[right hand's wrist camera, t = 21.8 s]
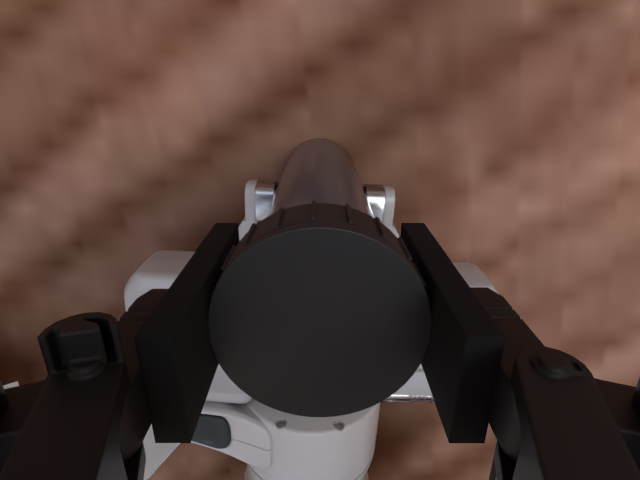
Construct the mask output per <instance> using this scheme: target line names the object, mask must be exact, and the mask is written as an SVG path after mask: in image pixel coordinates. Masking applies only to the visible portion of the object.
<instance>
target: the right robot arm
mask: <svg viewBox="0 0 640 480" xmlns="http://www.w3.org/2000/svg"><path fill="white" fill-rule="evenodd" d="M401 238H402V240H403V242H404V244H405V246H406V248H407V250H408V252H409V254H410V256H411V258H412V260H411V261H412V263H413V262H415V264H416V266H417V268H418V270H419V272H420V274H421V276H422V278H423V279H424V281H425V283H426V285H427V288H426V292H427V295H428V298H429V301H430V306H431V313H432V325H431V333H430V341H429V345H428V348H427V351H426V354H425V356H424V358H423V360H422V362H421V365H422V368H423V370H424V373H425V376H426V379H427V382H428V385H429V387H430V390H431V393H432V396H433V399H434V401H435V404H436V407H437V410H438V413H439V416H440V418H441V421H442V424H443V427H444V430H445V432H446V435H447V438H448V441H449V443H484V442H485V437H486V432H487V427H488V422H489V424H490V426H491V428H492V430H493V432H494V434H495V436H496V438H497V444H496V449H495V453H494V458H493V462H492V467H491V471H490V476H489V480H495V479H496V478H497V480H640V378H639V381H638V384H637V386H636V387H633V386H628V385H623V384H618V383H613V382H608V381H603V380H599V379H595V378H594V377H593V375H592V373H591V372H590V371H589V370H588V368H587V367H586V366H585V365H584V364H583V363H582V362H580V361H579V360H577V359H576V358H575V357H573V356H571V355H569V354H566V353H564V352H562V351H560V350H556V349H552V348H548V347H545V346H544V345H543V344H542V343H541V341H540V340H539V339H538V338H537V337H536V336H535V334H534V333H533V332H532V331H531V330H530V328H529V327H528V326H527V325H526V324H525V322H524V321H523V320H522V319H520V316H519V315H518V314H517V313H516V312H515V311H514V310H512V307H511V306H510V305H509V303H508V302H507V301H506V300H505V299H504V297H503V296H501V295H499V294H498V293H496V292H494V291H493V290H491V289H489V288H488V287H469V285H468V284H467V282H466V281H465V280H464V278H463V277H462V276H461V274H460V273H459V271H458V270H457V269H456V267H455V266H454V264H453V263H452V262H451V260H450V259H449V257H448V256H447V255H446V253H445V252H444V250H443V249H442V248H441V246H440V245H439V244H438V242H437V241H436V239H435V238H434V237H433V235H432V234H431V232H430V231H429V230H428V228H427V227H426V225H425V224H424V223H402V226H401ZM238 243H239V229H238V223H216V224H215V225H214V226H213V228H212V229H211V231H210V232H209V233H208V235H207V236H206V238H205V239H204V240H203V242H202V243H201V245H200V246H199V247H198V249H197V250H196V252H195V253H194V254H193V256H192V257H191V258H190V260H189V261H188V263H187V264H186V265H185V267H184V268H183V270H182V271H181V272H180V274H179V275H178V277H177V278H176V279H175V281H174V282H173V283H172V285H171V286H170V288H169V289H151V290H149V291H148V292H146V293H145V294H143V295H141V296H140V297H138V298H137V299H136V300H135V301H134V302H133V304H132V305H131V306H130V307H129V308H128V311H126V312H125V313H124V314H123V316H122V317H121V318H120V321H118V322H117V320H116V318H114V317H113V316H112V315H110V314H106V313H101V312H95V313H83V314H79V315H74V316H71V317H68V318H65V319H63V320H60V321H58V322H56V323H54V324H52V325H51V326H49V327H48V328H46V329H45V330H44V331H43V332H42V333H41V334H40V335H39V336H38V337H37V338H38V341H39V345H40V348H41V351H42V354H43V358H44V361H45V364H46V367H47V371H48V376H47V378H46V380H44V381H40V382H36V383H31V384H26V385H21V386H16V387H12V388H7V389H4V387H3V385H2V382H1V379H0V480H143V479H144V471H145V463H146V455H145V449H144V444H143V440H144V438H145V436H146V434H147V432H148V430H149V428H150V426H151V424H152V429H153V434H154V439H155V443H191V440H192V437H193V435H194V432H195V429H196V426H197V423H198V420H199V418H200V415H201V412H202V409H203V406H204V404H205V401H206V398H207V395H208V392H209V389H210V387H211V384H212V381H213V378H214V375H215V373H216V370H217V367H218V364H219V362H218V361H217V359H216V357H215V354H214V352H213V349H212V347H211V342H210V336H209V327H208V310H209V305H210V301H211V293H212V291H213V289H214V288H215V286H216V284H217V282H218V280H219V278H220V276H221V274H222V272H223V270H221V268H222V266H223V264H224V262H225V260H226V258H227V256H228V254H229V252H230V250H231V248H232V247H233V245H234V246H237V244H238Z"/></svg>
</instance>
